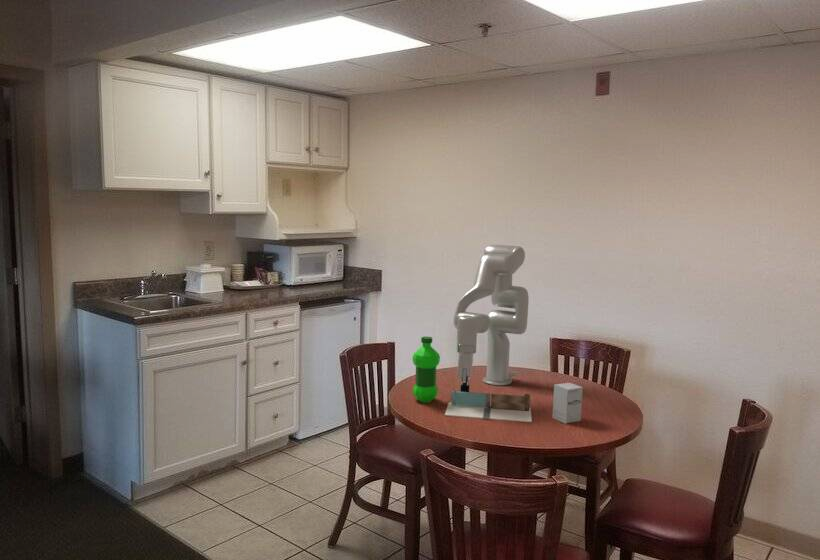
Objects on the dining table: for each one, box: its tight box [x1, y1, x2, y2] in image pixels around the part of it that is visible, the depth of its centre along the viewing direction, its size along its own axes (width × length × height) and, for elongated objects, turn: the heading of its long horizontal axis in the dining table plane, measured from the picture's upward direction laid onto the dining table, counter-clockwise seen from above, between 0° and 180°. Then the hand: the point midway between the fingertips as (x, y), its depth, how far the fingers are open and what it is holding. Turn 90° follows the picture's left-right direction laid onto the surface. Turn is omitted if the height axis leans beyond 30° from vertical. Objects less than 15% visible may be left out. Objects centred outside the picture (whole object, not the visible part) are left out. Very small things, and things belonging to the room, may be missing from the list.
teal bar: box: [450, 390, 491, 407], centre depth 233 cm, size 15×2×5 cm, turn 80°
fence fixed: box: [490, 393, 531, 411], centre depth 230 cm, size 14×2×6 cm, turn 80°
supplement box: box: [551, 382, 584, 424], centre depth 221 cm, size 7×7×13 cm
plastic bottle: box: [412, 336, 441, 403], centre depth 239 cm, size 10×10×25 cm
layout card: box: [444, 401, 533, 423], centre depth 227 cm, size 31×16×1 cm, turn 80°
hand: (464, 394), depth 237 cm, fingers closed
